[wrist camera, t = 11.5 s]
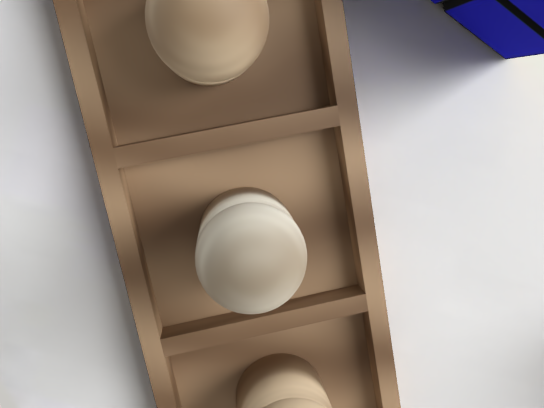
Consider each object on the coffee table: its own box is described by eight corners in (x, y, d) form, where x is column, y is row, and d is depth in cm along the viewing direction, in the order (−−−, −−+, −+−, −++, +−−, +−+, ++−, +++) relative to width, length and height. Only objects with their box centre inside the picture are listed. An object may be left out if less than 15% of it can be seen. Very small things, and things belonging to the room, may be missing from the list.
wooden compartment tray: (47, -62, 24) (33, -77, 22) (316, -103, 25) (325, -121, 23) (187, 495, 31) (186, 522, 29) (396, 443, 32) (409, 466, 30)
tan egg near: (145, -11, 25) (122, -55, 18) (248, -28, 25) (263, -77, 18) (168, 94, 26) (154, 91, 19) (266, 76, 26) (287, 67, 19)
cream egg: (188, 199, 27) (177, 230, 20) (281, 176, 27) (302, 200, 20) (212, 288, 28) (209, 346, 21) (301, 265, 28) (327, 316, 21)
